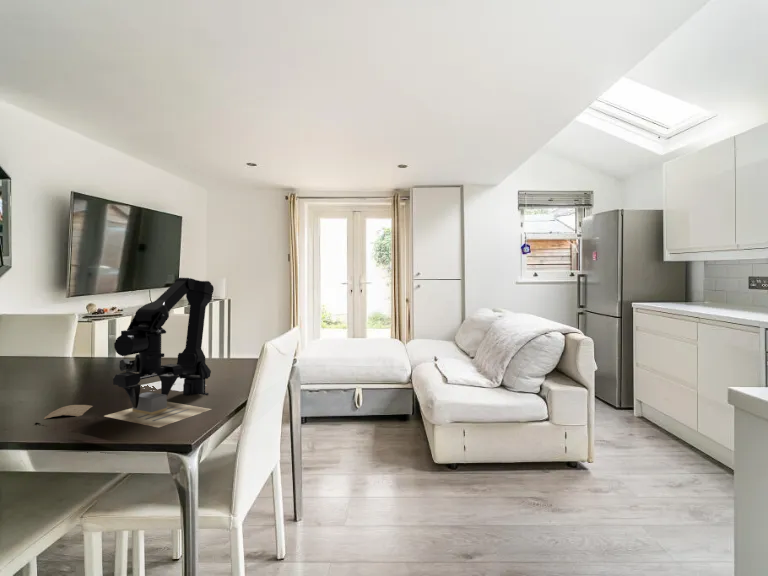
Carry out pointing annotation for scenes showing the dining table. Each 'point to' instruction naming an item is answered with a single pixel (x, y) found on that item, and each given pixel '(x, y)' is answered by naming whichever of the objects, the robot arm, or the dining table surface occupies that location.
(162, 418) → the plywood board
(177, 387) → the paper sheet
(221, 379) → the dining table surface
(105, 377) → the dining table surface
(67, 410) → the clay tablet
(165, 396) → the block
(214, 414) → the dining table surface
